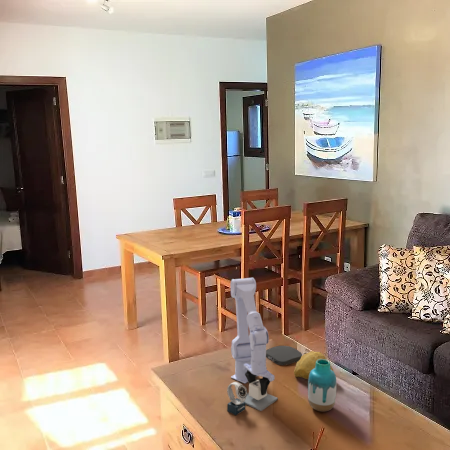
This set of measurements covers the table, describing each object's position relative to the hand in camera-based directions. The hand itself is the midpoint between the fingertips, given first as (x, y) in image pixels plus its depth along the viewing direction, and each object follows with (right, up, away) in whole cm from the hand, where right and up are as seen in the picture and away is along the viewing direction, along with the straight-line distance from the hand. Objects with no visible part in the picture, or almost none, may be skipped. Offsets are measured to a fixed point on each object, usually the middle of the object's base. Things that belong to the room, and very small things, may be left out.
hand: (258, 391), depth 195 cm
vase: (+24, -5, -5) cm, 25 cm away
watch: (-9, -5, -6) cm, 12 cm away
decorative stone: (+24, -1, +18) cm, 30 cm away
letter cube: (0, -2, 0) cm, 2 cm away
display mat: (0, -4, +1) cm, 4 cm away
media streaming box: (+15, +3, +39) cm, 42 cm away
